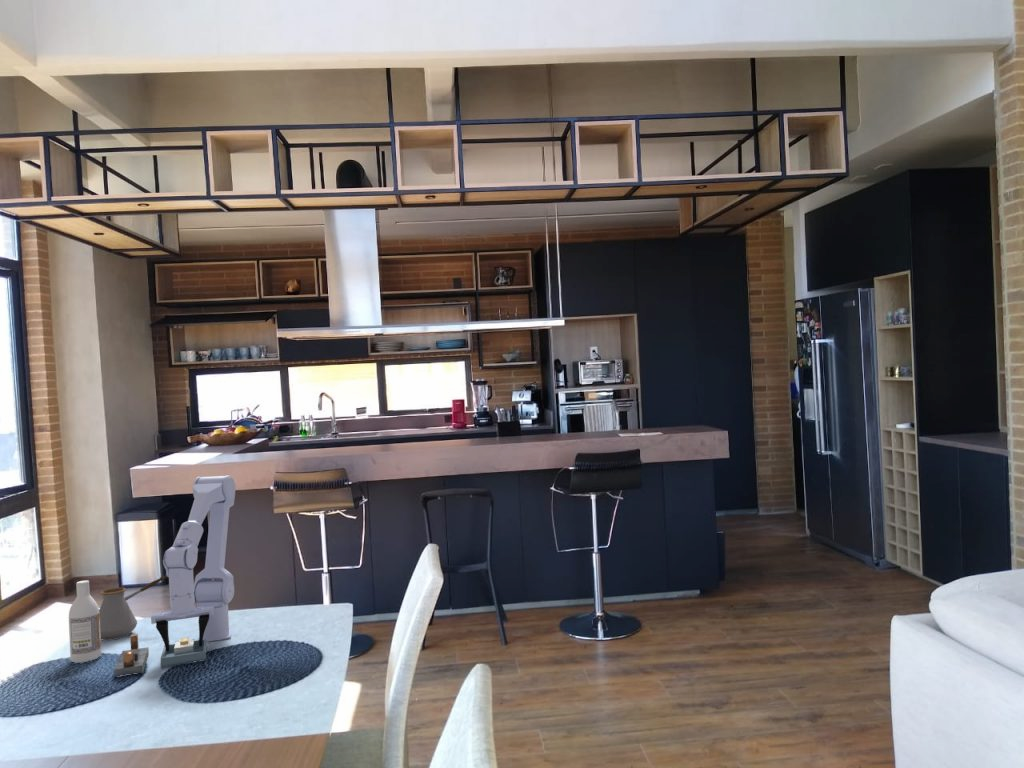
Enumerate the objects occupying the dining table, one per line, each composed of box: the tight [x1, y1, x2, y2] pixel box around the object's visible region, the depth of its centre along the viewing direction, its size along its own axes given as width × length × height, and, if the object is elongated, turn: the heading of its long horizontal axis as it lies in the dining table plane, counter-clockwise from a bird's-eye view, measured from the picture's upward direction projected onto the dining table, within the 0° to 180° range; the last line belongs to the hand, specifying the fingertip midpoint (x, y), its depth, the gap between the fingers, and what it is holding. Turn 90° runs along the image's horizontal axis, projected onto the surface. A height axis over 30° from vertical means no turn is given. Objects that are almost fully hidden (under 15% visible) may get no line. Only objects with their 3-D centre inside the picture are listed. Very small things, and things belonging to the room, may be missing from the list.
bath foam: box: [68, 579, 102, 663], centre depth 197 cm, size 7×7×20 cm
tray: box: [160, 639, 208, 669], centre depth 194 cm, size 11×10×2 cm
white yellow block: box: [174, 637, 195, 656], centre depth 194 cm, size 6×4×4 cm
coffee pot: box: [99, 574, 168, 641], centre depth 220 cm, size 21×12×15 cm, turn 125°
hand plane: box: [113, 633, 150, 677], centre depth 190 cm, size 15×6×6 cm, turn 20°
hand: (184, 647), depth 194 cm, fingers open, 7 cm apart
